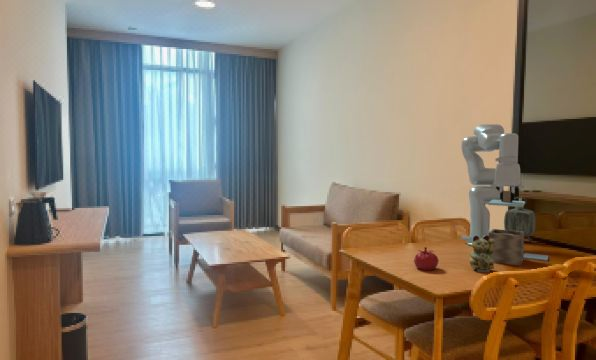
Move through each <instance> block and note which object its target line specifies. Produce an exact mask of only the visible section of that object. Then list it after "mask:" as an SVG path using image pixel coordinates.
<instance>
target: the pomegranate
mask: <svg viewBox="0 0 596 360" xmlns="http://www.w3.org/2000/svg"><path fill="white" fill-rule="evenodd" d="M423 248H424V249H423V250H420V249H418V250H417V254H416V255H415V257H414V259H413V263H414V265H415V266H414V267H416V268H417V269H419V270H422V271H432V270H434V269H436V268H437V267H438V265H439V261H440V260H439V257H438V256H437V255H436V254H435V253H436V251H434V250H432V249H431V250H430V249H429V250H428V247H426V246H424V247H423Z"/></svg>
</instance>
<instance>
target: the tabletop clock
mask: <svg viewBox="0 0 596 360" xmlns="http://www.w3.org/2000/svg"><path fill="white" fill-rule="evenodd" d="M516 199H524V201H525V204H527V203H528V200H527V198H525V197H523V196H516V197H514V200H513V201H516ZM525 204H524V206H523V207H515V206H514V208H512V209H509V210H506V211H505V213H504V221H503V225H504V226H503V227H504V230H512V231H524V237H527V238H528V240H529V242H530V243H532V242H533V239H532V238H531V236H532V235H534V233H535V231H536V225H537V218H536V213H535V211H533V210H530V209H526V208H525Z"/></svg>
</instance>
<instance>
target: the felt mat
mask: <svg viewBox="0 0 596 360" xmlns="http://www.w3.org/2000/svg"><path fill="white" fill-rule="evenodd" d="M524 259H525V260H533V261H542V262H548V261H549V255H546V254H537V253H528V252H524V255H523V260H524Z"/></svg>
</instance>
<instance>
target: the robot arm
mask: <svg viewBox="0 0 596 360" xmlns="http://www.w3.org/2000/svg"><path fill="white" fill-rule="evenodd" d="M461 151H462V153H461V154H462V156H463V157H464V160H465V162H466V166H467V173H468V178H469V179H468V180H469V181H470V182H469V183H470V184H471V185H473V187H471V188H470V189H469V190H468V198H469V205H470V214H469V215H470V217H469V218H470V219H469V221H470V223H469V226H470V227H469V235H468V236H466V235H461V240H463V241H464V240H465V241H466V245H467V246H471V247H473V246H472V242H473V237H474V236H478V237H479V239H482V238H483V237H484V236H485V235H488V236H489V232H490V231H491V230H490V225H491V223H490V220H491V217H490V216H491V215H490V211H489V209H488V207H487V206H486V205H488V203H489V202H490V201H492V200H501V201H502V202H503V191H505V188H504V187H511V197H510V202H513V200H514V198H515V193H516V192H517V191H518V190H521V189H523V188H524V184H523V182H522V181H521V167H520V164H519V163H518V162H519V159H518V158H519V157H518V156H519V135H518V133H513V132H512V133H510V132H509V133H505V130H504V127H503V126H502V125H501V124H498V123H497V124H496V123H495V124H492V123H491V124H487V123H485V124H479V125H477V126H475V128H474V129H473V135H472V136H467V137H465V138H463V139H462V141H461ZM493 151H498V157H497V158H496V157H495V162H498V163H497V164H496V165H495V166H496V167H495V168H493V167H486V166H485V162H484V159H483V158H482V157H481V156H480V155H479V154H478V153H477V152H482V153H483V152H484V153H485V152H487V153H489V152H490V153H491V152H493ZM514 201H515V200H514Z"/></svg>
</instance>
